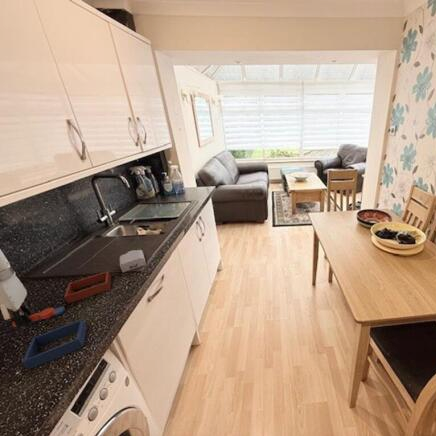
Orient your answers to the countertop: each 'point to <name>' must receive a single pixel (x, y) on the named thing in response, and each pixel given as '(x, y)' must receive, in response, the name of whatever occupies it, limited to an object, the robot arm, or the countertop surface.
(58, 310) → the blue spoon
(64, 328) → the blue bin
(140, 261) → the charger
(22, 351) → the countertop surface
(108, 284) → the red bin
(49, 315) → the red spoon
